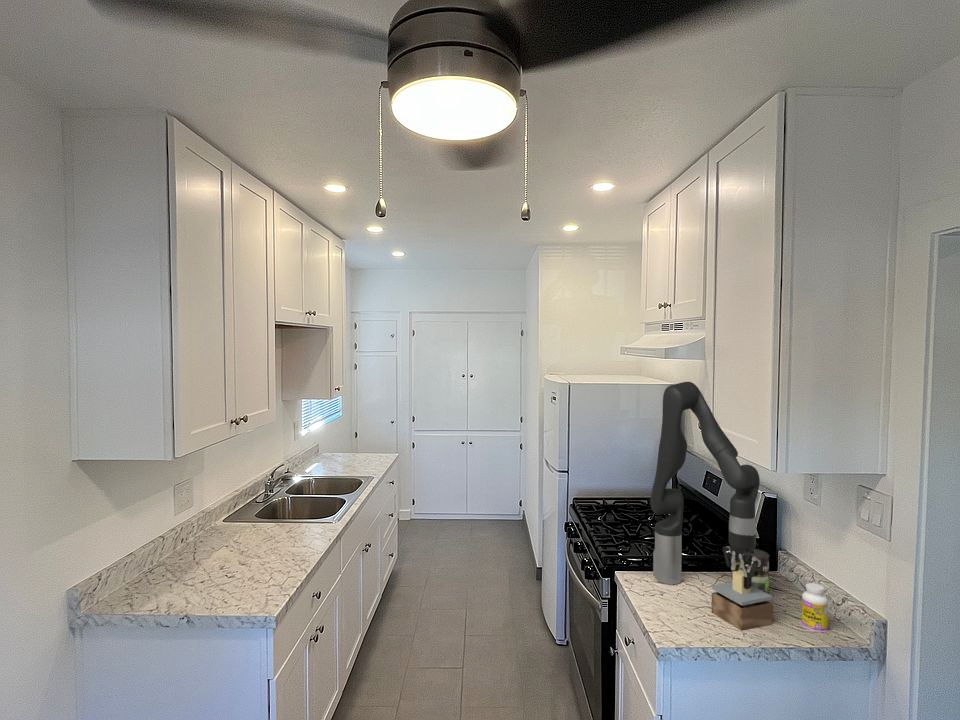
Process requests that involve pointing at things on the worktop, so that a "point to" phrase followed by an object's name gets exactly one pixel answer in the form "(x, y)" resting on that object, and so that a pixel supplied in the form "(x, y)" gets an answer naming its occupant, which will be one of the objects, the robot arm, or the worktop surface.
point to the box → (742, 613)
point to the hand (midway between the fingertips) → (741, 585)
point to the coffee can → (761, 572)
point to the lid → (741, 591)
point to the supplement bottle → (815, 608)
